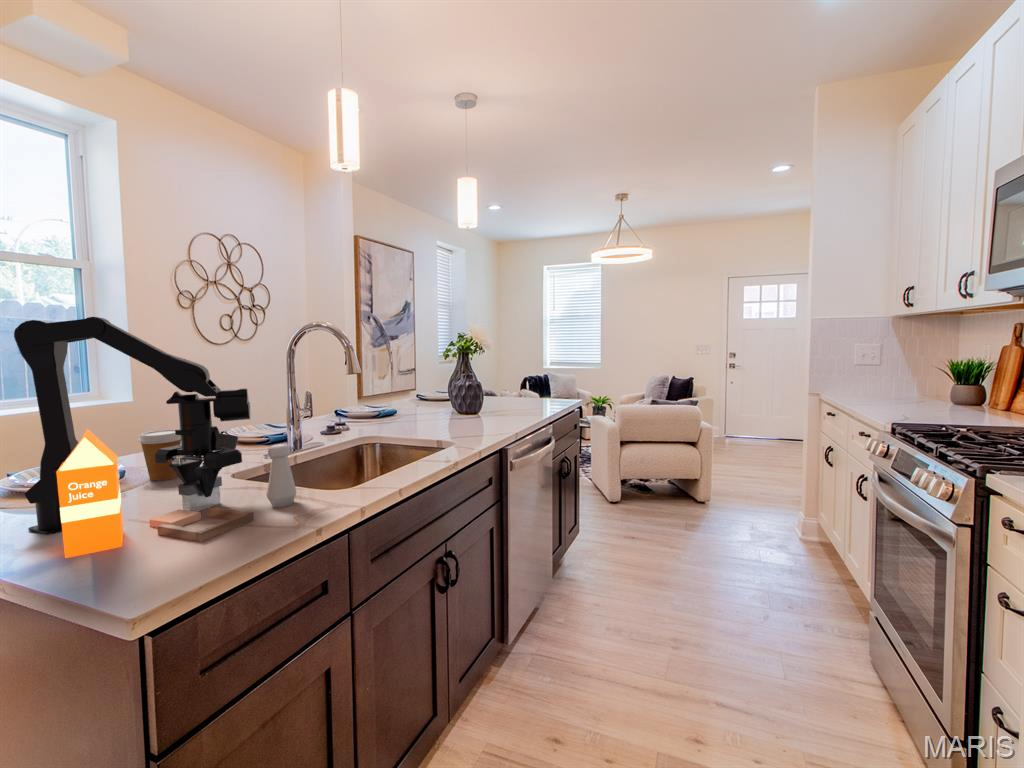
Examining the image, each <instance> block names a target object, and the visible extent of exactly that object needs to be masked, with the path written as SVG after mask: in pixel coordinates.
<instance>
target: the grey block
mask: <svg viewBox="0 0 1024 768" xmlns="http://www.w3.org/2000/svg"><path fill="white" fill-rule="evenodd" d="M222 479H223V478H222V476H220V475H217V478H216V481H215V484H214V487H213V491H212V494H211V496H209V497H205V496H204V494H203V491H202V489H201V486H200V483H199V480H198V479H197V480H194V481H190V482H187V483H183V482H182V483H179V484H178V486H177V487H178V489H177V490H178V495H181V498H182V501H181V502H182V510H187V511H194V512H200V511H203V510H207V508H210V507H215V506H217V505H219V504H221V493H220V491H221V490H220V487H222V486H223V480H222Z"/></svg>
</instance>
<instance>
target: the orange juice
mask: <svg viewBox="0 0 1024 768" xmlns="http://www.w3.org/2000/svg"><path fill="white" fill-rule="evenodd" d="M78 444H79V445H78ZM78 444H77V445H78V446H76V447H75V448H76V449H75V448H74V449H75V450H73V451H72V452H73V453H72V452H71V453H72V454H70V455H69V456H68V457H69V458H68V459H66V460H65V461H66V462H63V463H62V465H61V466H60V467H59V469H58V470H57V472H56V473H57V483H58V492H59V502H60V516H61V523H62V530H61V531H62V540H63V550H64V558H65V559H67V558H72V557H78V556H83V555H86V554H91V553H97V552H102V551H107V550H111V549H117V548H121V547H123V541H124V533H125V531H124V523H123V521H124V520H123V511H122V495H121V486H120V474H119V469H118V468H119V465H118V457H119V456H118V455H117V454H116V453H115V452H113V450H111V449H110V447H108V446H107V445H106V444H105V443H104V442H102V441H101V440H100V439H99V438H98V437H97V436H96V435H95V434H94V433H92V432H91V430H90V429H86V431H85V432H84V434H83V435H82V438H81V439H80V440H79V441H78Z"/></svg>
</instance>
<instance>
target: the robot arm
mask: <svg viewBox="0 0 1024 768" xmlns="http://www.w3.org/2000/svg"><path fill="white" fill-rule="evenodd" d="M13 338H14V341H15V343H16V346H17V348H18V350H19V353H20V355H21V357H22V358H23V360H24V361H25V362H26V364H27V365H28V367H29V368H30V370H31V373H32V379H33V384H34V389H35V395H36V401H37V406H38V411H39V412H38V413H39V417H40V423H41V429H42V435H43V439H44V440H43V441H44V448H43V452H42V455H41V459H40V466H39V467H40V468H39V480H38V481H37V482H35V484H33V485H32V486H31V487H30V488H29V489H28V490H27V491H26V492H25V493H24V497H25V498H26V499H27V501H28V503H29V504H35V512H36V513H35V514H36V522H37V524H35V525H33V526H30V527H28V529H27V530H28V531H30V532H35V533H41V534H46V535H50V534H54V533H57V532H60V531H62V523H61V516H60V502H59V492H58V483H57V473H56V472H57V470H58V469H59V467H60V466H61V465H62V463H63V462H66V461H65V460H66V459H68V458H69V457H68V456H69V455H70V454H72V453H73V452H72V451H73V450H75V449H76V448H75V447H76V446H78V445H79V444H80V443H79V441H78V440H77V438H76V434H75V429H74V422H73V418H72V411H71V405H70V401H69V400H70V399H69V393H68V388H67V382H66V381H67V380H66V375H65V371H64V369H65V368H64V366H65V361H66V358H67V355H68V347H69V345H68V344H69V343H75V342H80V341H86V340H90V339H96V340H98V341H99V342H101V343H103V344H105V345H107V346H109V347H110V348H113V349H115V350H117V351H119V352H121V353H122V354H124V355H126V356H129V357H131V358H132V359H134V360H136V361H138V362H139V363H142V364H144V365H146V366H148V367H149V368H151V369H153V370H155V371H157V372H158V374H160V376H162V377H163V378H164V379H165V380H167V381H168V382H169V383H171V384H172V385H173V386H175V387H176V388H178V389H179V390H180V391H181V392H182V391H183V392H185V393H188V394H182V393H180V392H179V391H178V390H177V391H174V392H173V394H172V395H171V397H170V398H169V399H166V400H165V403H166V404H167V405H174V404H177V405H178V406H177V407H178V416H179V417H178V418H179V420H178V421H179V428H178V429H174V430H175V435H181V445H176V446H171V447H166V448H161V449H159V450H158V451H157V452H156V453H155V461H156V463H167V462H168V460H170V459H172V464H171V465H169V468H172V469H173V471H174V472H175V473H176V474H177V475H178V476H177V477H178V478H179V479H180V481H181V482H182V484H183V483H187V482H190V481H194V480H197V479H198V480H199V483H200V486H201V489H202V491H203V494H204V496H205V497H209V496H211V494H212V491H213V487H214V484H215V481H216V478H217V476H219V473H220V471H221V470H222V469H223V468H227V467H229V466H233V465H237V464H241V463H243V454H242V453H243V452H241V451H240V450H239V449H236V448H237V444H238V440H239V436H237V435H230V434H225V433H220V430H219V428H218V426H216V425H213V424H212V423H213V420H212V410H211V409H212V408H211V403H212V404H213V406H212V407H213V417H214V418H216V419H219V421H220V422H232V421H245V420H251V402H250V401H249V394H248V388H238V389H229V390H228V389H227V390H226V389H225V390H223V389H222V390H221V389H220V388H219V386H218V385H216V384H215V383H214V381H213V380H212V379H211V375H210V372H209V370H208V369H207V367H205V366H204V365H203V364H200V363H197V362H195V361H191V360H190V359H189V360H188V359H187V358H183V357H179V356H176V355H173V354H170V353H167V352H166V351H163V350H162V349H160V348H158V347H156V346H155V345H152V344H151V343H148V342H147V341H145V340H143V339H141V338H139V337H137V336H136V335H134V334H131V333H130V332H128V331H126V330H124V329H123V328H120V327H119V326H116V325H115V324H113V323H111V322H110V321H109V320H108V319H106V318H104V317H99V316H89V317H86V318H82V319H72V320H63V321H55V322H53V321H48V320H37V319H31V320H30V319H29V320H26V321H24V322H21V323H20V324H19V325H18V326H17V327H15V329H14V332H13ZM189 393H190V394H189ZM197 393H198V394H199V395H201V396H203V397H200V396H199V395H198V394H197ZM78 443H79V444H78ZM77 444H78V445H77ZM74 448H75V449H74ZM71 452H72V453H71Z"/></svg>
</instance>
